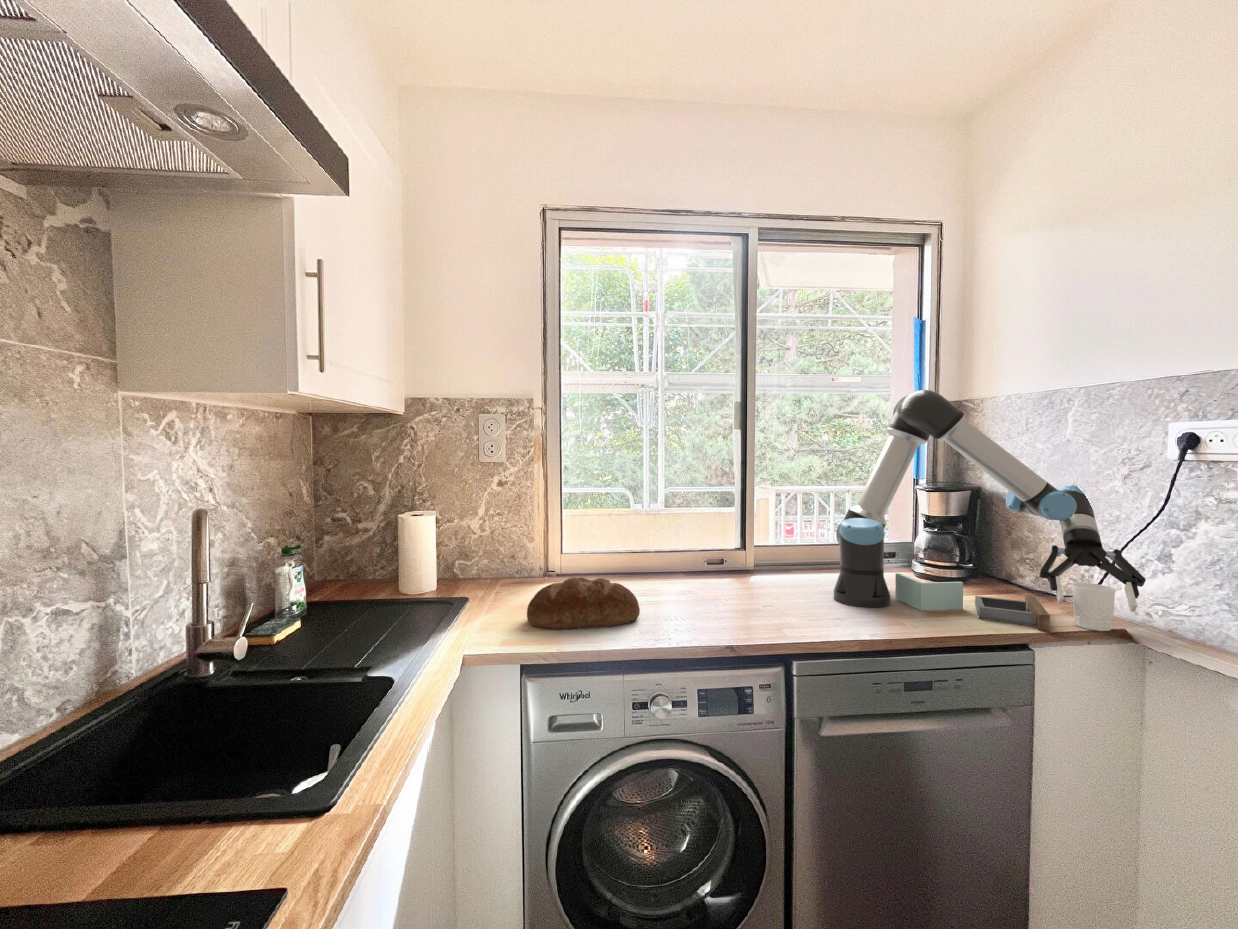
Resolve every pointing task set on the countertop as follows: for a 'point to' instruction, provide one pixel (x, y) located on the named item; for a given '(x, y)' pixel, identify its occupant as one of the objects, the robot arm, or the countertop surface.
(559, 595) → the bread
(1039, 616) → the brown drawer face panel
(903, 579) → the right angle wall
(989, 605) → the gray square tray
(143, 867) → the countertop surface
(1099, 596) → the white cup
